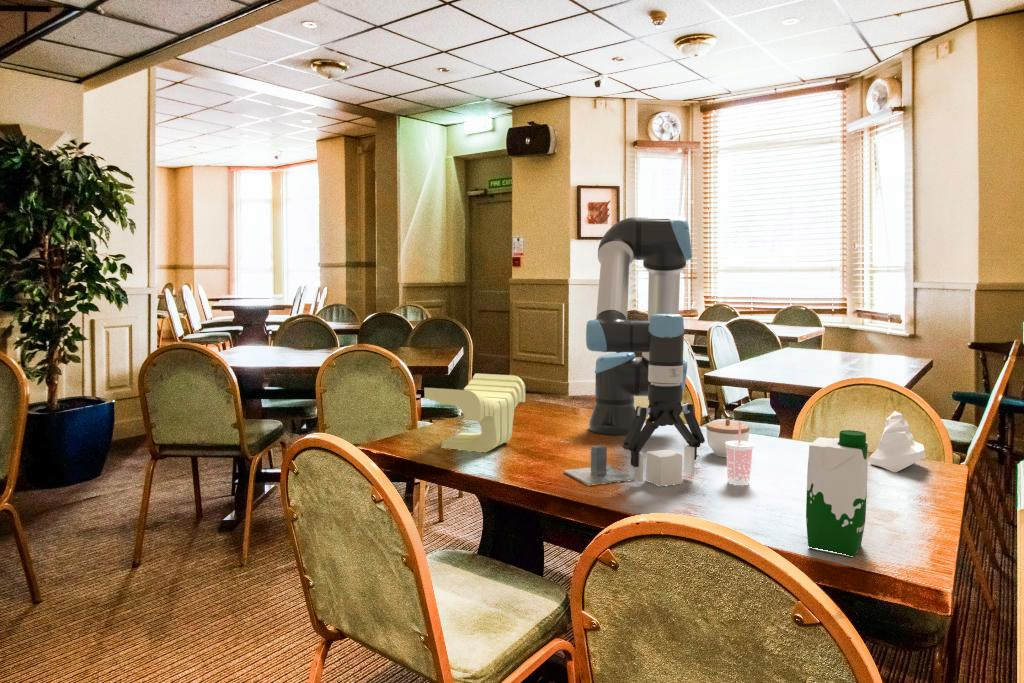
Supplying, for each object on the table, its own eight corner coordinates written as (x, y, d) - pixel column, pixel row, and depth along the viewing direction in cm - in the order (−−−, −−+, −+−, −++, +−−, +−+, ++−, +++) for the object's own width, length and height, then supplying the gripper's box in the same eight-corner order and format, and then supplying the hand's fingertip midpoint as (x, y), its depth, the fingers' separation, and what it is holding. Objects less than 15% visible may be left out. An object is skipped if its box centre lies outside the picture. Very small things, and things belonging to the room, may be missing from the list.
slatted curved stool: (480, 461, 180) (480, 391, 178) (425, 455, 186) (424, 387, 184) (525, 437, 207) (525, 376, 206) (475, 432, 213) (475, 373, 212)
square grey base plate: (607, 467, 174) (608, 439, 173) (635, 480, 162) (635, 449, 162) (563, 472, 169) (563, 443, 168) (588, 486, 158) (588, 455, 157)
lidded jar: (755, 454, 186) (756, 418, 186) (737, 462, 179) (738, 424, 178) (717, 447, 194) (718, 413, 193) (698, 454, 186) (698, 419, 185)
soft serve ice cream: (864, 475, 172) (852, 416, 174) (882, 468, 183) (871, 413, 185) (921, 471, 164) (908, 409, 166) (937, 464, 175) (924, 406, 177)
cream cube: (666, 477, 164) (667, 449, 164) (681, 484, 159) (682, 455, 159) (646, 480, 162) (646, 451, 162) (660, 487, 157) (661, 457, 157)
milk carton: (859, 561, 116) (864, 439, 114) (800, 549, 121) (804, 432, 119) (867, 544, 123) (872, 429, 121) (811, 534, 128) (815, 423, 126)
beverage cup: (757, 482, 160) (759, 421, 159) (745, 488, 156) (747, 425, 155) (731, 477, 164) (732, 417, 163) (719, 483, 160) (720, 421, 159)
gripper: (626, 389, 151) (624, 488, 152) (722, 382, 160) (719, 475, 162) (607, 384, 157) (606, 479, 159) (700, 378, 167) (699, 467, 169)
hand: (663, 477), depth 161 cm, fingers open, 13 cm apart
